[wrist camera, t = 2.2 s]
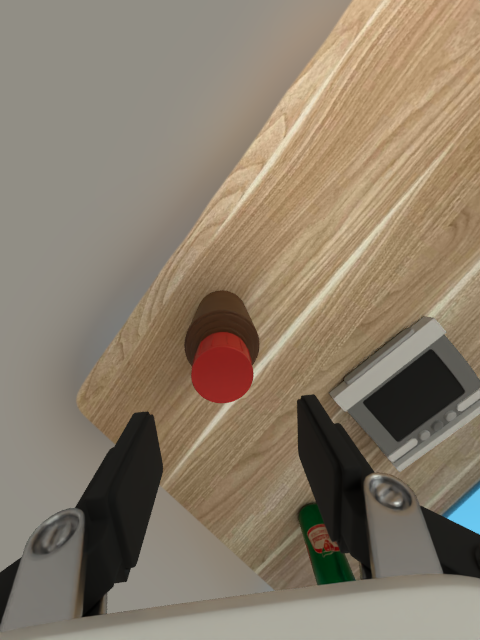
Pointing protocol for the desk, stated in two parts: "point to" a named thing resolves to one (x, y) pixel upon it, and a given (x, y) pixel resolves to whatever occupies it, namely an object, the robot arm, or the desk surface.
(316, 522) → the soda can
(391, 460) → the alarm clock
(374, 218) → the desk surface
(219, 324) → the bottle
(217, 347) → the cap
